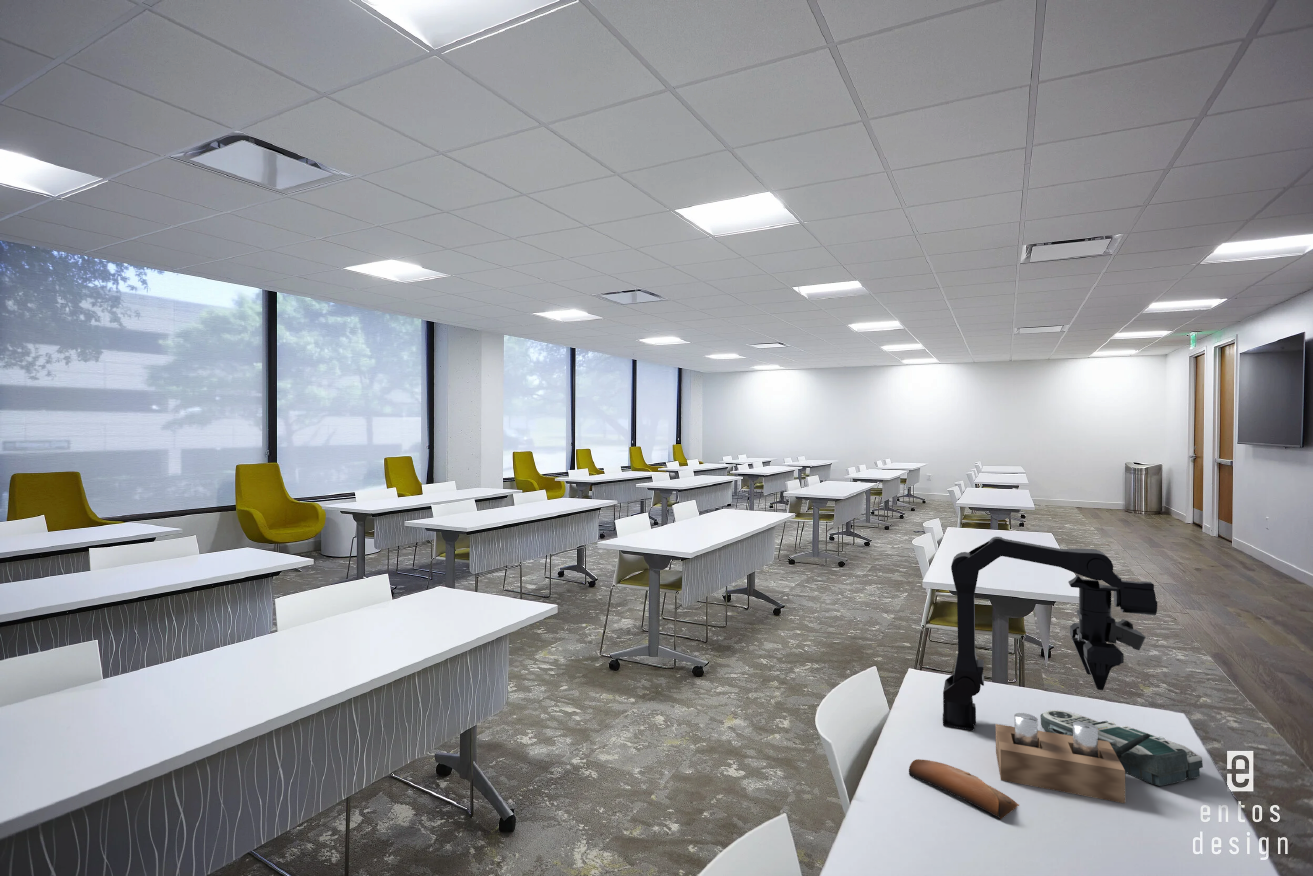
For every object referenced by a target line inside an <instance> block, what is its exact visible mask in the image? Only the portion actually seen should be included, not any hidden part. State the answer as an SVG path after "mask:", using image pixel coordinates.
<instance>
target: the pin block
mask: <svg viewBox="0 0 1313 876" xmlns="http://www.w3.org/2000/svg"><path fill="white" fill-rule="evenodd" d="M995 755H996V760H997V766H998V771H999V778H1000V781H1003V782H1008V783H1015V784H1020V785H1023V786H1024V785H1025V786H1031V787H1036V788H1042V789H1047V790H1052V791H1057V792H1062V793H1067V794H1073V795H1079V796H1083V797H1084V796H1085V797H1087V798H1088V797H1089V798H1094V799H1101V800H1106V801H1109V802H1110V801H1111V802H1116V803H1121V804H1126V773H1125V770H1124V768H1123V766H1122V764H1121V762H1120V761H1119V759H1118V757H1117V755H1116V753H1115V752H1114V750H1113V748H1112V746H1111V744H1110V743H1109V742H1108V741H1102V740H1098V758H1096V757H1090V756H1084V755H1078V754H1073V736H1069V735H1063V734H1057V733H1050V732H1046V731H1045V730H1044V731H1043V730H1038V748H1035V747H1029V746H1023V745H1017V744H1015V726H1010V725H1003V724H997V723H995Z"/></svg>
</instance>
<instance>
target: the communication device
mask: <svg viewBox="0 0 1313 876" xmlns="http://www.w3.org/2000/svg"><path fill="white" fill-rule="evenodd" d="M1039 717H1040V726H1041V728H1042V729H1043V730H1044V732H1050V733H1057V734H1063V735H1069V736H1073V723H1074V722H1086V723H1090V724H1093V725H1095V726H1096V727H1097V728H1098V740H1102V741H1108V742H1109V743H1110V744H1111V746H1112V748H1113V750H1114V752H1115V753H1116V755H1117V757H1118V759H1119V761H1120V762H1121V764H1122V766H1123V768H1124V770H1125V774H1126V775H1130V776H1132V777H1133V778H1137V779H1139V780H1141V781H1144V782H1146V783H1149V784H1151V785H1154V786H1158V787H1163V786H1168V785H1171V784H1176V783H1180V782H1184V781H1186V780H1193V779H1197V778H1200V777H1201V774H1200V769H1202V768H1204V767H1203V766H1204V765H1203V758H1202V756H1200V755H1199V754H1197V753H1196V752H1194V751H1193V750H1192V749H1190V748H1188V747H1187V746H1185V745H1182V744H1180V743H1177V742H1175V741H1172V740H1169V739H1166V737H1163V736H1157V735H1155V734H1152V733H1149V732H1145V731H1144V730H1140V729H1138V728H1134V727H1131V726H1128V725H1125V726H1120V725H1117V724H1116V723H1115V722H1114V721H1108V720H1104V721H1098V720H1095V719H1093V718H1090V717H1087V716H1084V715H1082V714H1080V713H1075V712H1072V711H1069V710H1068V711H1067V710H1059V709H1057V710H1056V709H1052V710H1051V709H1050V710H1046V711H1044V712H1042V713H1040V716H1039Z"/></svg>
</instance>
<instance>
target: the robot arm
mask: <svg viewBox="0 0 1313 876" xmlns="http://www.w3.org/2000/svg"><path fill="white" fill-rule="evenodd" d="M1000 557H1005V558H1011V559H1015V560H1021V561H1025V562H1026V561H1027V562H1031V563H1036V564H1040V565H1041V564H1042V565H1048V566H1052V567H1056V568H1057V567H1058V568H1061V569H1064V570H1066V571H1069V572H1071V573H1073V574H1076V575H1075V576H1074V577H1073V578H1072V579H1070V580H1068V582H1067V583H1068V584H1069V586H1070V588H1077V589H1078V609H1076V615H1077V616H1078V622H1074V623H1072V624H1071V625H1070V626H1069V635H1070V636H1071V641H1072V643H1073V644H1074V648H1075V650H1076V652H1077V655H1078V656H1079V659H1080V661H1081V664H1082V666H1083V668H1084V671H1085V673H1086V675H1089V676H1090V675H1091V676H1090V677H1092V681H1093V683H1094V686H1095V688H1096V690H1098V691H1103V690H1104V689H1105V687H1106V683H1107V681H1108V678H1109V676H1110V673H1111V670H1112V668H1115V667H1116V666H1120V665H1121V664H1124V659H1125V658H1124V657H1125V656H1124V655H1125V654H1124V653H1123V651H1122V650H1121V649H1120V648H1119V647H1118V646H1116V644H1117V642H1120V644H1124V645H1126V646H1129V647H1131V648H1132V649H1133V650H1135V651H1136V650H1137V651H1140V650H1141V649H1142V645H1144V643H1145V640H1146V636H1145V635H1144V634H1143V633H1142V632H1140V631H1139V630H1138V629H1135V628H1134V624H1133V623H1132V622H1131V621H1129V620H1127V619H1124V618H1122V619H1121V620H1120V621H1119V620H1118V621H1116V619H1115V617H1113V615H1112V592H1113V603H1114V607H1116V608H1119V609H1120V611H1121V613H1125V614H1134V615H1135V614H1136V615H1137V614H1138V615H1145V616H1154V617H1155V616H1157V612H1158V601H1157V597H1156V591H1155V584H1154V583H1153V582H1152V581H1134V580H1124V579H1122V578H1121V577H1120V576H1119V574H1116V573H1115V572H1114V564H1113V562H1112V560H1111V559H1110V558H1109V557H1108V556H1107V555H1106V553H1104V552H1103V551H1102V550H1099V549H1097V548H1057V547H1053V546H1047V545H1041V544H1035V543H1031V542H1030V543H1029V542H1025V541H1018V540H1012V539H1008V538H1003V537H1002V536H994V537H992V538H990V539H989V540H988V541H986V542H984V543H983V544H980V545H979V546H977V547H975V548H973V549H972V550H970V551H963V552H959V553H957V554H956V555H955V556H954V557H953V559H952V562H951V566H950V568H951V569H950V570H951V574H952V579H953V583H954V584H953V585H954V588H955V591H956V597H957V598H956V607H957V609H956V611H957V615H956V617H957V619H956V620H957V655H956V659H955V660H956V662H955V664H954V665H955V666H954V671H953V673H952V674H951V675H950V676H949V677H947V678H946V679H944V680H945V681H944V685H943V691H942V700H943V701H942V705H943V707H942V708H943V709H942V710H943V712H942V726H944V727H949V728H956V729H961V730H967V731H975V726H976V725H977V714H976V713H977V709H976V708H977V707H976V703H975V702H974V701H973V698H974V697H975V696H976V695H978V694H980V691H981V686H985V675H984V669H985V668H984V661H985V660H984V659H978V657H977V653H976V627H975V626H976V625H975V623H976V621H975V620H976V618H975V616H976V615H975V612H976V611H975V609H976V608H975V593H976V588H977V584H978V578H979V573H980V571H981V570H983V569H984V568H986V567H987V566H989V565H990V564H992V563H993V562H995V561H996V560H997V559H998V558H1000ZM1081 576H1082V577H1085V578H1087V579H1085V578H1081ZM1099 581H1102V582H1104V583H1105V584H1101V583H1100V582H1099Z"/></svg>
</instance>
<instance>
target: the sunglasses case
mask: <svg viewBox="0 0 1313 876" xmlns="http://www.w3.org/2000/svg"><path fill="white" fill-rule="evenodd" d="M908 775H909V776H910V777H913V778H915V779H917V780H920V781H921V782H925V783H927V784H930V785H932V786H933V787H934V786H935V787H938V788H940V789H942V790H944V791H946V792H947V793H950V794H952V795H954V796H956V797H958V798H960V799H962V800H965V801H966V802H968V803H970V804H973V805H974V806H975V807H977V808H980V809H982V810H984V811H986V812H988V813H990V814H992V815H994V816H996V817H998V819H999V820H1002V819H1003V818H1005V817H1006V816H1007V815H1009V814H1011V813H1012V812H1013V811H1014V810H1015V809H1017V807H1018V806H1019V807H1020V804H1019V803H1018V802H1016V801H1015V800H1014V799H1013V798H1011V797H1009V795H1006V794H1005V793H1003V792H1002V791H1000V790H998V789H997V788H994V787H992V786H991V785H989V784H987V783H986V782H985V781H984V780H982V779H980V778H979V777H978V776H976V775H973V774H972V773H970V772H968V771H965V770H962V769H961V768H957V767H954V766H952V765H949V764H946V763H944V762H943V763H942V762H940V761H939V762H938V761H936V760H935V761H934V760H930V759H929V760H928V759H920V758H918V759H914V760H912V762H911V763H910V764H909V768H908Z"/></svg>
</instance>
